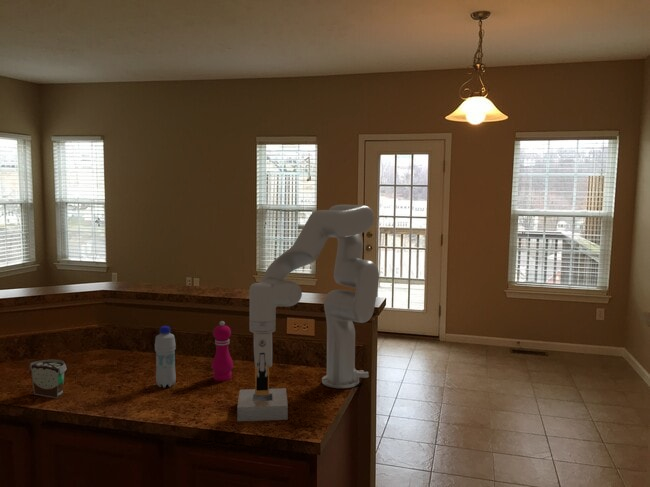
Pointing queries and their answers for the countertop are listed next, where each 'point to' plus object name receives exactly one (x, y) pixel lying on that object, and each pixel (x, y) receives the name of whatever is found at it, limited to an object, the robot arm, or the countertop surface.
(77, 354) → the countertop surface
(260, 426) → the countertop surface
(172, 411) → the countertop surface
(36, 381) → the food container
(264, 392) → the wooden block
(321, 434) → the countertop surface
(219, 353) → the pepper mill
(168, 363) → the bottle
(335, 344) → the robot arm
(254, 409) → the white flat block
